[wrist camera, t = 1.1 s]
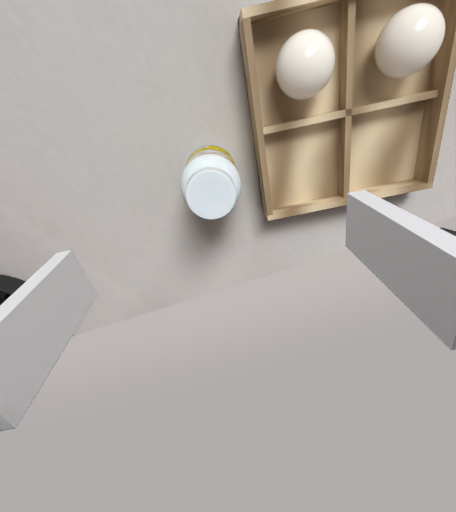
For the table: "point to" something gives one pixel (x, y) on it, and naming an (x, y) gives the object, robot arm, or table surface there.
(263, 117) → the wooden compartment tray
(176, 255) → the table surface
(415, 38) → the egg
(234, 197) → the supplement bottle
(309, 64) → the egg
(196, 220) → the table surface
